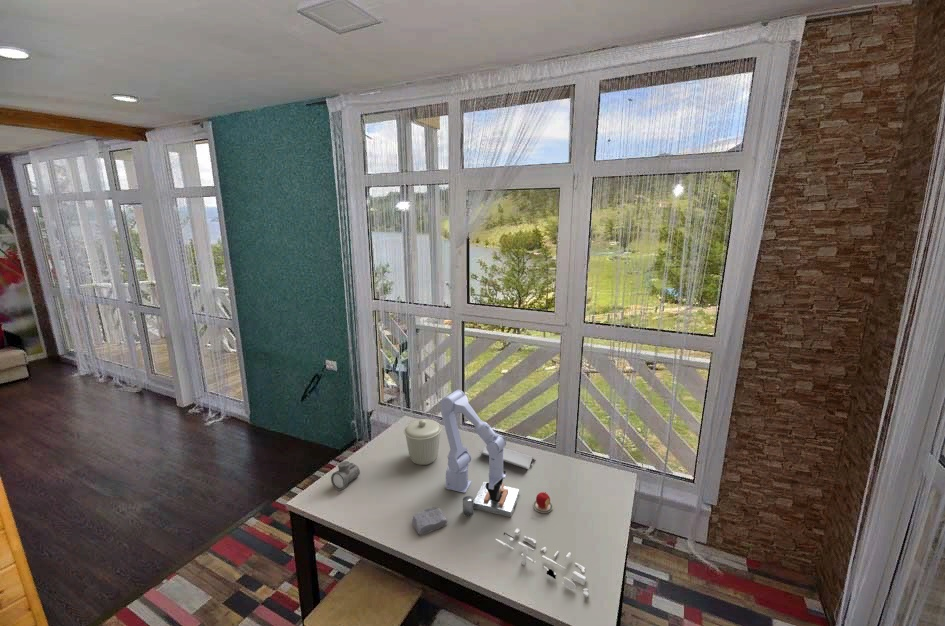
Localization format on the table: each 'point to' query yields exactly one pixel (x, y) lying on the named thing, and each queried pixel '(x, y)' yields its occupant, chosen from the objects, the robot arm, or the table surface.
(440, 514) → the stone block
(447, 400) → the robot arm
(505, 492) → the bracket
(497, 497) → the grey rectangular box
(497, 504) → the silver base plate
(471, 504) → the stub post
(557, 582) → the table surface
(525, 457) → the z bracket
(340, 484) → the pipe fitting
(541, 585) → the table surface
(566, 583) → the miniature set
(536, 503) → the red apple on plate
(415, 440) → the canister
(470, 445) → the table surface
